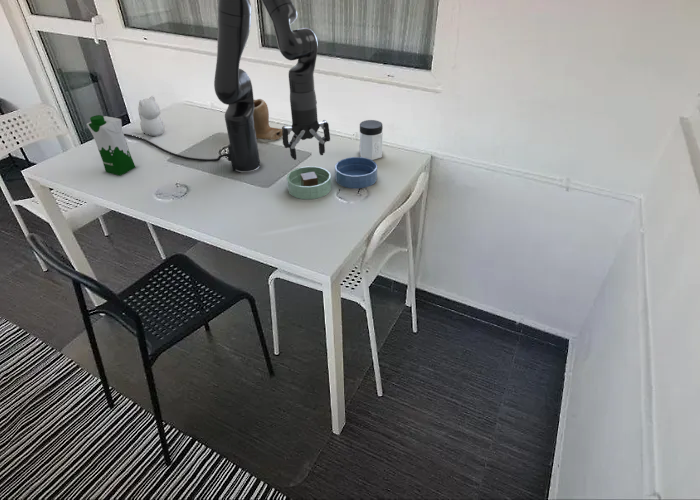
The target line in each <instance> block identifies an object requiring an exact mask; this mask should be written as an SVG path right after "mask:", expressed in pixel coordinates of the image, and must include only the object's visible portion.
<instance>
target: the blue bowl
mask: <svg viewBox="0 0 700 500" xmlns="http://www.w3.org/2000/svg"><path fill="white" fill-rule="evenodd" d="M334 180H335V182H336V184H338V185H339V186H340V187H344V188H349V189H365V188H368V187H371V186H373V185H375V184H376V182H377V180H378V164H377V163H376V161H374V160H370V159H367V158H362V157H360V156H352V157H351V156H350V157H346V158H343V159H340V160H338V161H336V163H335V165H334Z"/></svg>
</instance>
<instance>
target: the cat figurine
mask: <svg viewBox="0 0 700 500" xmlns="http://www.w3.org/2000/svg"><path fill="white" fill-rule="evenodd" d="M137 106H138V107H137V109H138V116H139V120H140V123H139V125H140V130H141V131H142V133H143V134H144V133H145V134H144V135H147V136H151V137H157V136H160V135H162V134H163V133H164V132H165V123H164V121H163V119H162V117H160V115H161V108H160V106H159V104H158V103H157V102H156V98H155V96H154V95H151V96H150V97H149V98H144V99H140V100H139V101H138V105H137ZM148 134H150V135H148Z"/></svg>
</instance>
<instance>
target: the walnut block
mask: <svg viewBox="0 0 700 500" xmlns="http://www.w3.org/2000/svg"><path fill="white" fill-rule="evenodd" d="M300 177H301V186H316V185H318V178H317V176H316V174H315V173H314V172H308V173H302V174H300Z"/></svg>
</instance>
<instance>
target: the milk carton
mask: <svg viewBox="0 0 700 500" xmlns="http://www.w3.org/2000/svg"><path fill="white" fill-rule="evenodd" d="M89 120H90V121H89V122H87V123H86V126H87V128H88V130H89V131H90V134H91V135H92V137H93V140H94V142H95V144H96V147H97V149H98V152H99V155H100V157H101V161H102V164H103V167H104V170H105V173H108V174H111V175H116V176H119V177H121V176H123V175H125V174H126V173H128V172H130V171H132V170H134V169H136V164H135V162H134V160H133V157H132V155H131V152H130V149H129V146H128V143H127V139H126V136H124V134H125V133H124V130H123V123H122V118H118V117H112V116H106V115H102V114H96V115H93V116H91V117H89Z"/></svg>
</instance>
